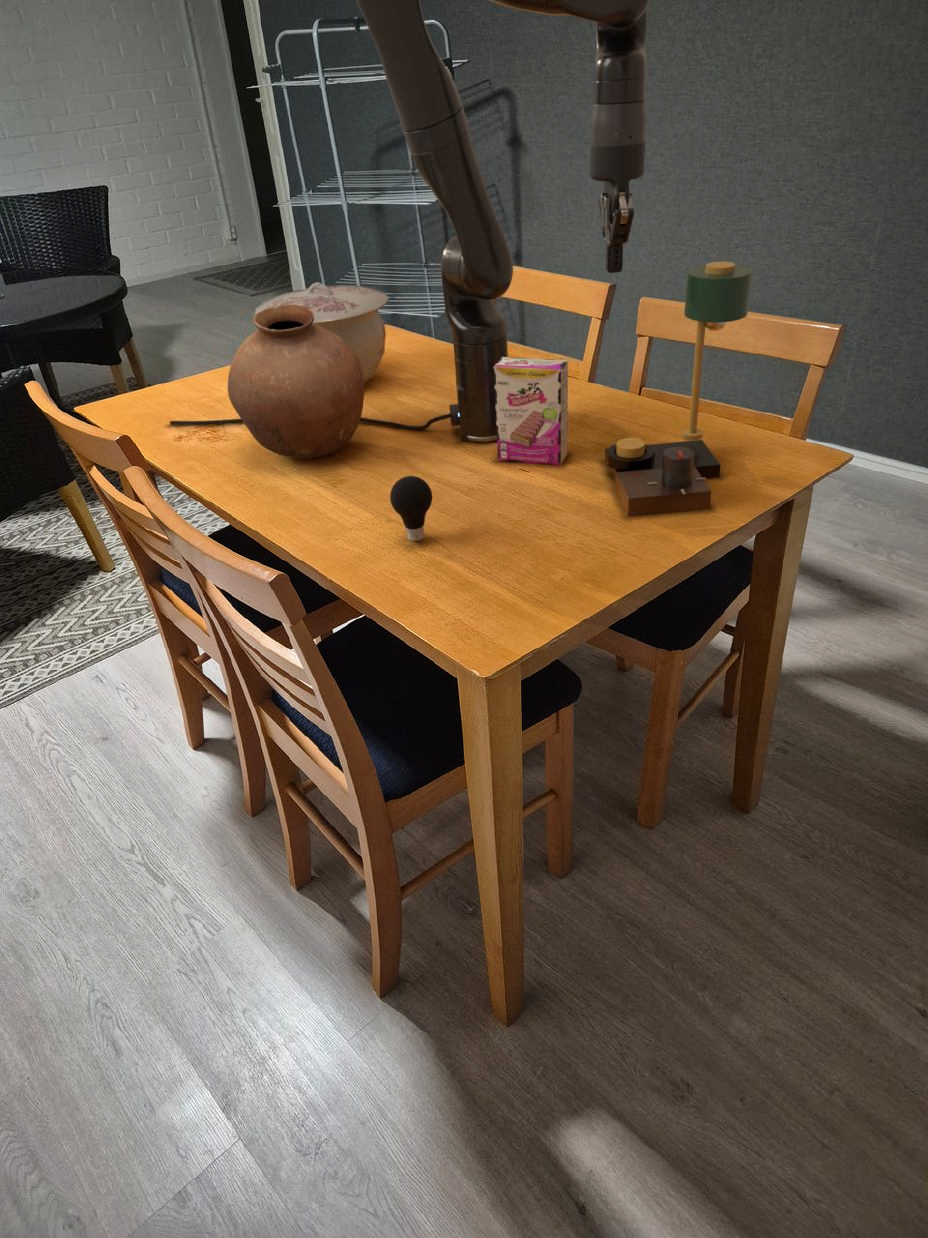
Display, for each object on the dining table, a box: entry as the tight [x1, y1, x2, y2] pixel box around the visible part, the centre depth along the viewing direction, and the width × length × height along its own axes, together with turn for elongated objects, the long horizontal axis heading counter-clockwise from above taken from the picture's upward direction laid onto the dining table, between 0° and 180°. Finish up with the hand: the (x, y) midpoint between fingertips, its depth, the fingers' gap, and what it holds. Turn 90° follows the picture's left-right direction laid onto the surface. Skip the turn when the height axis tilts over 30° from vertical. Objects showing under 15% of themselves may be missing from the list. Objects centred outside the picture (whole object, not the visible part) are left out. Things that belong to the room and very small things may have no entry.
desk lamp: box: [681, 261, 753, 441], centre depth 128 cm, size 9×9×26 cm
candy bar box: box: [494, 356, 569, 466], centre depth 138 cm, size 11×5×16 cm, turn 71°
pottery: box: [227, 304, 365, 459], centre depth 145 cm, size 23×23×25 cm
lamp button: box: [615, 437, 646, 458], centre depth 133 cm, size 4×4×2 cm
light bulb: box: [389, 475, 433, 543], centre depth 119 cm, size 6×6×10 cm
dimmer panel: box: [615, 465, 712, 518], centre depth 126 cm, size 12×9×3 cm
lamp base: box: [604, 439, 721, 484], centre depth 135 cm, size 17×10×4 cm, turn 93°
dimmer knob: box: [661, 447, 694, 488], centre depth 124 cm, size 4×4×5 cm
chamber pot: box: [254, 282, 389, 384], centre depth 177 cm, size 28×28×21 cm
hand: (613, 271), depth 127 cm, fingers closed
